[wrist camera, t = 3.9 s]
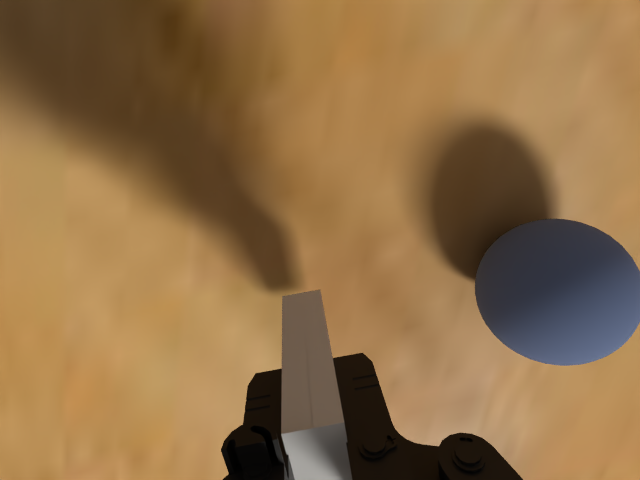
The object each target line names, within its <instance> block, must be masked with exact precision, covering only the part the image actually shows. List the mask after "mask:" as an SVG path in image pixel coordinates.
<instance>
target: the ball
mask: <svg viewBox="0 0 640 480" xmlns="http://www.w3.org/2000/svg"><path fill="white" fill-rule="evenodd" d="M475 295H476V301H477V305H478V308H479V311H480V313H481V316H482V318H483V320H484V321H485V323H486V325H487V326H488V327H489V329H490V330H491V331H492V333H493V334H494V335H495V336H496V337H497V338H498V339H499V340H500V341H501V342H502V343H503V344H505V345H506V346H507V347H509V348H510V349H512V350H513V351H515V352H516V353H518V354H520V355H522V356H524V357H527V358H529V359H532V360H535V361H538V362H542V363H545V364H553V365H579V364H585V363H589V362H592V361H596V360H599V359H601V358H603V357H606V356H608V355H609V354H611V353H613V352H614V351H616V350H617V349H619V348H620V347H621V346H622V345H623V344H624V343H625V342H627V340H628V339H629V338H630V337H631V336H632V334H633V333H634V332H635V330H636V328H637V326H638V324H639V322H640V271H639V269H638V267H637V266H636V264H635V262H634V260H633V259H632V257H631V256H630V255H629V253H628V252H627V251H626V250H625V249H624V248H623V246H622V245H620V244H619V243H618V242H617V241H616V240H614V239H613V238H612V237H611V236H609V235H607V234H606V233H604V232H602V231H600V230H599V229H597V228H595V227H592V226H589V225H587V224H584V223H581V222H576V221H571V220H565V219H544V220H537V221H532V222H528V223H525V224H522V225H520V226H517V227H515V228H513V229H511V230H510V231H508V232H506V233H505V234H503V235H502V236H501V237H499V238H498V239H497V240H496V241H495V242H494V243H493V244H492V245H491V246H490V247H489V248H488V250H487V251H486V253H485V254H484V256H483V258H482V260H481V262H480V264H479V267H478V270H477V274H476V280H475Z"/></svg>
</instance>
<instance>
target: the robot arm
mask: <svg viewBox="0 0 640 480" xmlns="http://www.w3.org/2000/svg"><path fill="white" fill-rule="evenodd" d="M246 400H247V402H246V406H245V414H244V422H243V425H241V426H240V427H238V428H237V429H235V430H234V431H232V432H231V433H230V434H229V436H228V437H227V438H226V439H225V441H224V443H223V446H222V448H221V452H222V455H223V458H224V460H225V463H226V466H227V469H228V472H229V474H228V475H227V476H226V477H225V478H224V479H223V480H523V479H522V478H521V477H520V476H519V475H518V473H517V472H516V471H515V470H514V469H513V468H512V467H511V466H510V465H509V464H508V462H507V461H506V460H505V459H504V458H503V457H502V456H501V455H500V454H499V453H498V452H497V450H496V449H495V448H494V447H493V446H492V445H491V444H489V443H488V442H487V441H486V440H484V439H483V438H481V437H478V436H476V435H473V434H468V433H457V434H453V435H449V436H448V437H447V438H445V439H444V440H442V442H441V444H440V446H430V445H422V444H417V443H414V442H411V441H409V440H407V439H405V438H404V437H402V436H401V435H400V434H399V433H398V432H397V431H396V430H395V428H394V426H393V424H392V421H391V418H390V415H389V412H388V409H387V406H386V403H385V400H384V397H383V393H382V390H381V387H380V385H379V381H378V378H377V376H376V372H375V369H374V366H373V363H372V361H371V360H370V359H369V358H368V357H367V356H366V355H364V354H363V353H359V354H353V355H348V356H342V357H337V358H333V357H332V352H331V346H330V341H329V335H328V330H327V324H326V319H325V313H324V308H323V302H322V297H321V291H320V290H315V291H309V292H303V293H298V294H292V295H287V296H282V369H277V370H272V371H266V372H261V373H256V374H255V375H254V377H253V379H252V380H251V382H250V383H249V385H248V389H247V397H246Z"/></svg>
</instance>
